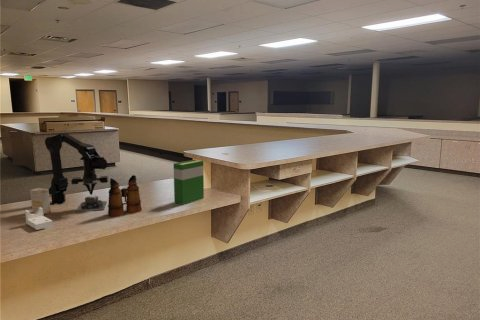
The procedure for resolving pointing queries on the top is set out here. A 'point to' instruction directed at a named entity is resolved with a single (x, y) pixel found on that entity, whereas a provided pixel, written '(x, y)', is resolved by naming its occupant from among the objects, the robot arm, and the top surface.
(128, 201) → the binoculars
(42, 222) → the bracket
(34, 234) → the top surface
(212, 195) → the top surface
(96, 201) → the domed button housing
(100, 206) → the barrel plate
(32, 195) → the supplement box
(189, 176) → the hardback book
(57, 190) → the robot arm
